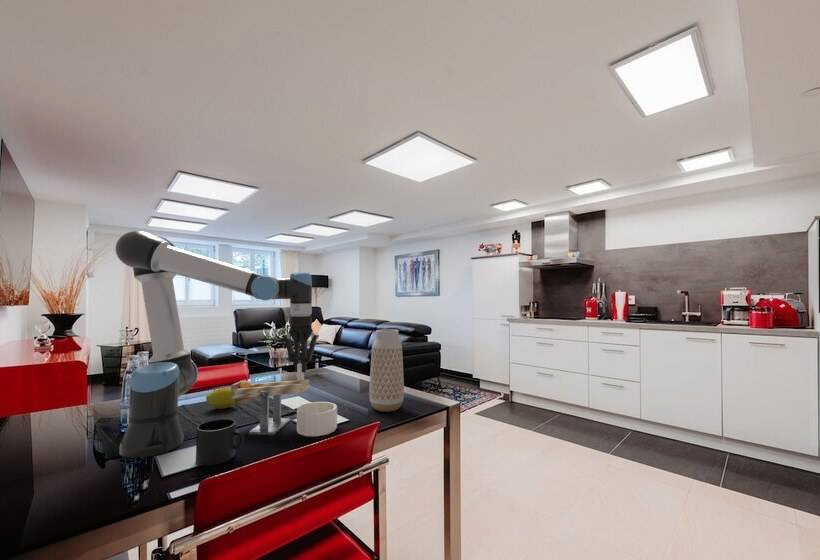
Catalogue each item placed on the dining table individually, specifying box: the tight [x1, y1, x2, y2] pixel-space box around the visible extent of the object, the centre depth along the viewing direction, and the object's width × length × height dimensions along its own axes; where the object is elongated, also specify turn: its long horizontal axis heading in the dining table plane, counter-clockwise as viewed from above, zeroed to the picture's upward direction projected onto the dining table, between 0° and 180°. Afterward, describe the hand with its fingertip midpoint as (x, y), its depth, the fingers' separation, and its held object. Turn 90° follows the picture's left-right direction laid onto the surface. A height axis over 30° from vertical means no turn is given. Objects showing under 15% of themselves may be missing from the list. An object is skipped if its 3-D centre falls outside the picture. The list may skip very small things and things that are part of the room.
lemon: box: [205, 387, 235, 410], centre depth 139 cm, size 11×8×8 cm
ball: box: [240, 380, 252, 389], centre depth 121 cm, size 4×4×4 cm
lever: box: [230, 378, 311, 406], centre depth 124 cm, size 24×15×7 cm, turn 86°
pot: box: [296, 401, 338, 437], centre depth 119 cm, size 13×13×7 cm
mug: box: [195, 418, 245, 467], centre depth 97 cm, size 9×12×9 cm
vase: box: [368, 328, 405, 413], centre depth 141 cm, size 14×14×31 cm
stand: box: [248, 391, 291, 436], centre depth 120 cm, size 8×13×13 cm, turn 176°
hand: (300, 381), depth 127 cm, fingers closed
